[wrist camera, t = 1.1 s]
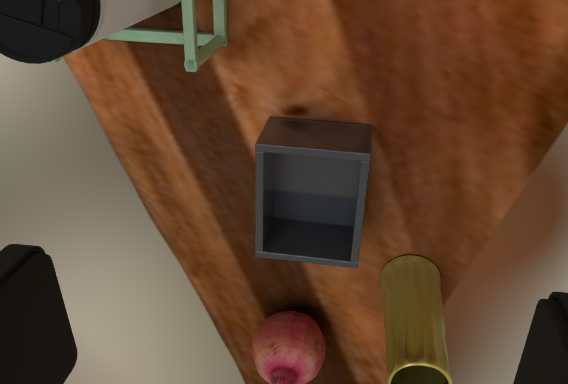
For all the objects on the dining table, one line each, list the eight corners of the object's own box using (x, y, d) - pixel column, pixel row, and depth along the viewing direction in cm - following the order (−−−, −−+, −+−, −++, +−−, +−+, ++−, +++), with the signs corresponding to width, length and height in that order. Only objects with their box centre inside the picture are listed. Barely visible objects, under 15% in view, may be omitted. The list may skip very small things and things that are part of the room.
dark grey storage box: (269, 116, 48) (255, 143, 42) (371, 124, 47) (370, 153, 41) (268, 220, 53) (255, 257, 48) (359, 229, 52) (357, 268, 46)
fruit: (335, 301, 57) (327, 371, 48) (322, 353, 61) (313, 426, 52) (264, 286, 58) (244, 352, 49) (256, 338, 62) (236, 407, 53)
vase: (403, 309, 56) (411, 421, 44) (368, 272, 55) (366, 378, 42) (452, 283, 54) (474, 395, 41) (417, 243, 52) (429, 347, 40)
